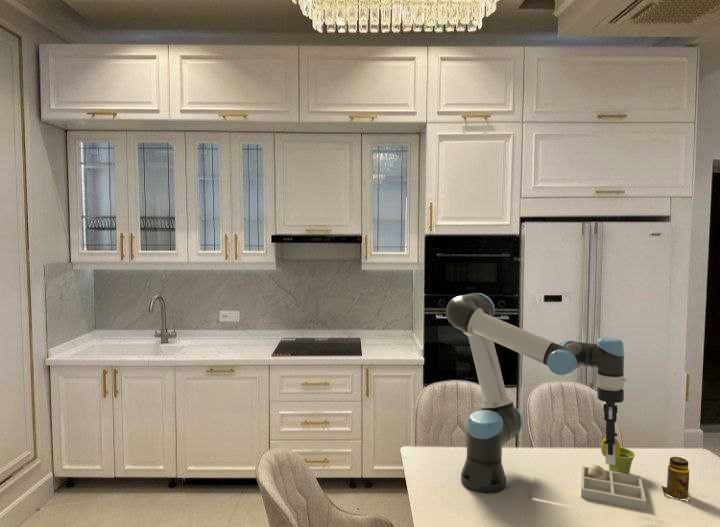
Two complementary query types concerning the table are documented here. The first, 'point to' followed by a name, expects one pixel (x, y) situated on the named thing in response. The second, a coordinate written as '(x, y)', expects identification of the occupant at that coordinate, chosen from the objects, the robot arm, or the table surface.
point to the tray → (614, 489)
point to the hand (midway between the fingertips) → (610, 460)
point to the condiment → (677, 479)
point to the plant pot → (623, 461)
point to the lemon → (617, 448)
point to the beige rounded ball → (597, 472)
